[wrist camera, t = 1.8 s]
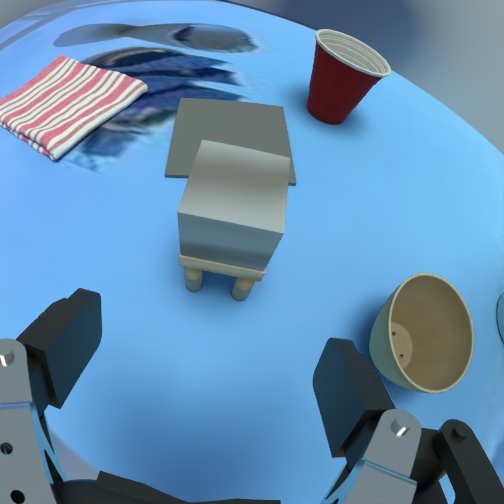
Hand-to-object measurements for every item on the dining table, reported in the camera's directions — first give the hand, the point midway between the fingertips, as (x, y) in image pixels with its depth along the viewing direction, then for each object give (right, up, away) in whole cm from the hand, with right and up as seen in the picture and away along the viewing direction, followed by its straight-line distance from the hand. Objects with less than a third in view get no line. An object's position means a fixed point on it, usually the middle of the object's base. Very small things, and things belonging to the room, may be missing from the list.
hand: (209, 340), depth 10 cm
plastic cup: (+12, +23, +31) cm, 40 cm away
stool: (-1, +2, +17) cm, 17 cm away
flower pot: (+15, -6, +16) cm, 23 cm away
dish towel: (-27, +25, +24) cm, 44 cm away
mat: (-1, +17, +24) cm, 30 cm away
